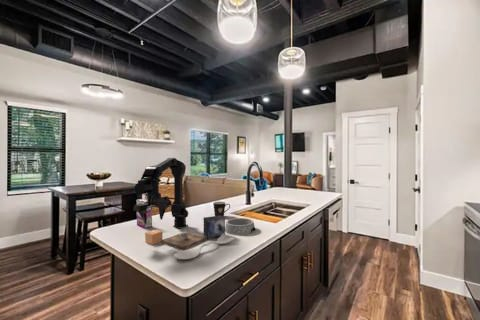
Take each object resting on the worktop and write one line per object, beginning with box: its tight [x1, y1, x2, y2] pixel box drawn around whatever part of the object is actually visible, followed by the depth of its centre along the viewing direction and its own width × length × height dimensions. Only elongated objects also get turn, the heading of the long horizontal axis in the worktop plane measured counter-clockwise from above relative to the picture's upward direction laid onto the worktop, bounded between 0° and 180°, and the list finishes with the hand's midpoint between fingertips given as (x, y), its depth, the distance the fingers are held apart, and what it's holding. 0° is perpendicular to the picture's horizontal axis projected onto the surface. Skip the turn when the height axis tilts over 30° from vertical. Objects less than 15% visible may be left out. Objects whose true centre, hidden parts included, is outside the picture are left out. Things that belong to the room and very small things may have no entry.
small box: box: [202, 215, 226, 241], centre depth 128 cm, size 11×6×10 cm, turn 117°
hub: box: [144, 229, 164, 245], centre depth 122 cm, size 6×6×5 cm
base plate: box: [161, 231, 208, 251], centre depth 121 cm, size 16×16×4 cm
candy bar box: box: [136, 198, 153, 229], centre depth 149 cm, size 11×5×16 cm, turn 49°
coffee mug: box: [212, 201, 231, 218], centre depth 169 cm, size 12×9×10 cm
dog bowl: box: [225, 217, 256, 236], centre depth 139 cm, size 17×18×5 cm
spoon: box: [173, 234, 236, 260], centre depth 110 cm, size 9×32×4 cm, turn 138°
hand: (153, 221), depth 121 cm, fingers open, 9 cm apart
